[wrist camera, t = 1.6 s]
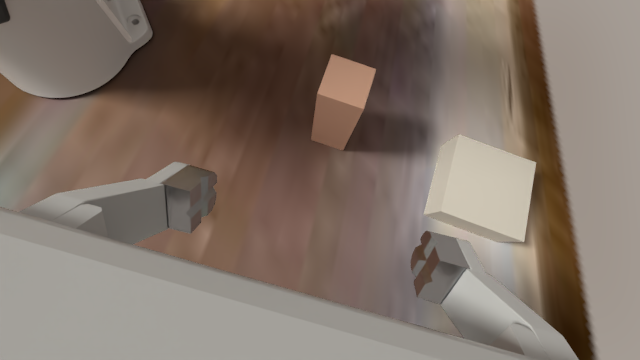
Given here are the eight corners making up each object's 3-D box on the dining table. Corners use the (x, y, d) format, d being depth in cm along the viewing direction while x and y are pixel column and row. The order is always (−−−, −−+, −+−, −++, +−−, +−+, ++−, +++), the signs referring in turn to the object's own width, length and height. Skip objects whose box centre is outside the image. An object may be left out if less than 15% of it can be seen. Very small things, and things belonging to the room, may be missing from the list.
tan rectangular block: (310, 139, 31) (317, 93, 21) (321, 110, 32) (331, 54, 22) (342, 150, 31) (363, 109, 21) (352, 121, 32) (376, 69, 22)
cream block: (422, 215, 30) (440, 211, 27) (439, 146, 33) (458, 134, 29) (495, 242, 30) (524, 242, 27) (507, 172, 33) (536, 162, 29)
